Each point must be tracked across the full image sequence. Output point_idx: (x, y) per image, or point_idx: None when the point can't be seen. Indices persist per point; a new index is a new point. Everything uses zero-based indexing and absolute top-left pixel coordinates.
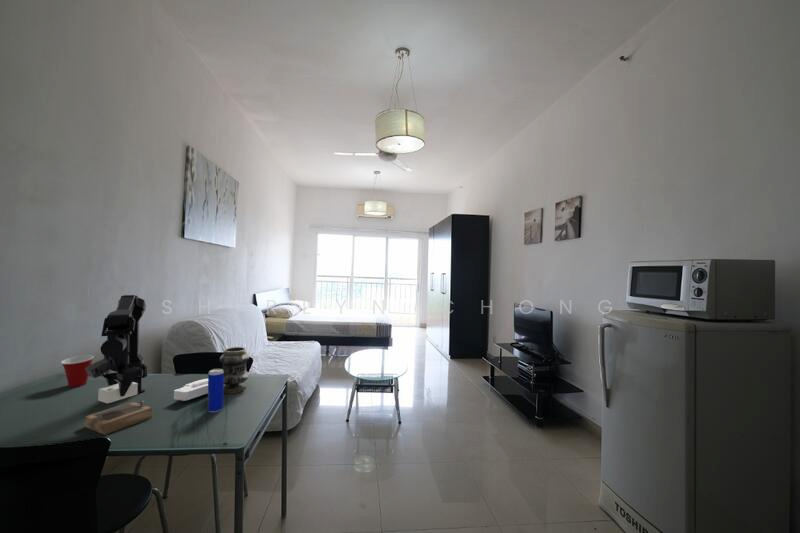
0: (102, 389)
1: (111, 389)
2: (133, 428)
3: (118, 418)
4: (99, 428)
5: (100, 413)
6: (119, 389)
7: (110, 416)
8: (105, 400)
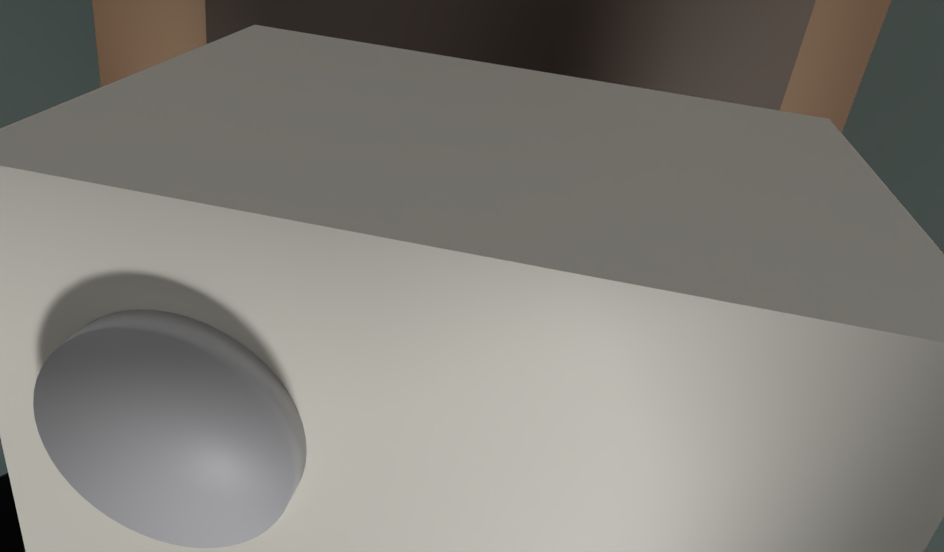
0: (590, 310)
1: (38, 388)
2: (63, 72)
3: (127, 9)
4: None
5: (717, 62)
6: (12, 530)
7: (348, 17)
8: (345, 60)
